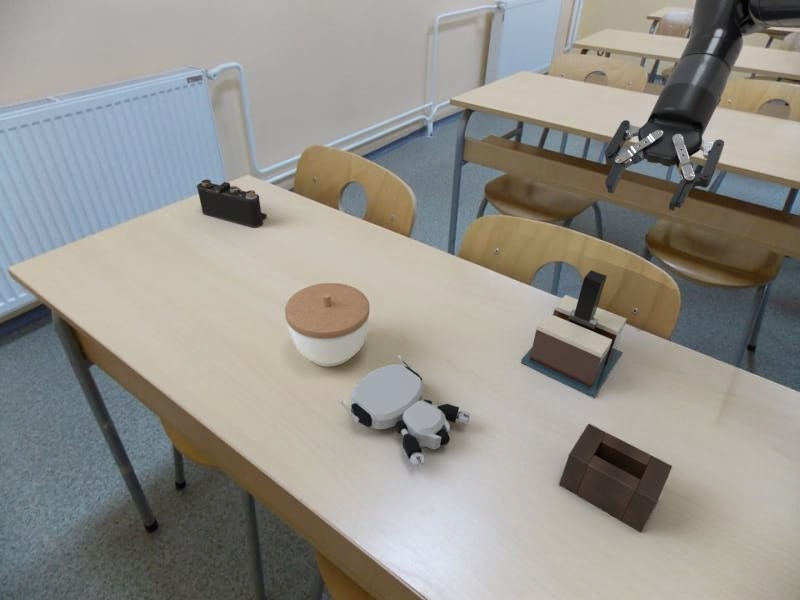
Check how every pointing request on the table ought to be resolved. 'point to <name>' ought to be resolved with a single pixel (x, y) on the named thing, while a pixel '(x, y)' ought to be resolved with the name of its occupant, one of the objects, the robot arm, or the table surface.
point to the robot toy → (403, 409)
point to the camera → (230, 203)
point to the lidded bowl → (328, 322)
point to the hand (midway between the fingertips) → (640, 199)
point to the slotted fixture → (576, 348)
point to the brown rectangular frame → (615, 476)
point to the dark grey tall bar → (588, 301)
